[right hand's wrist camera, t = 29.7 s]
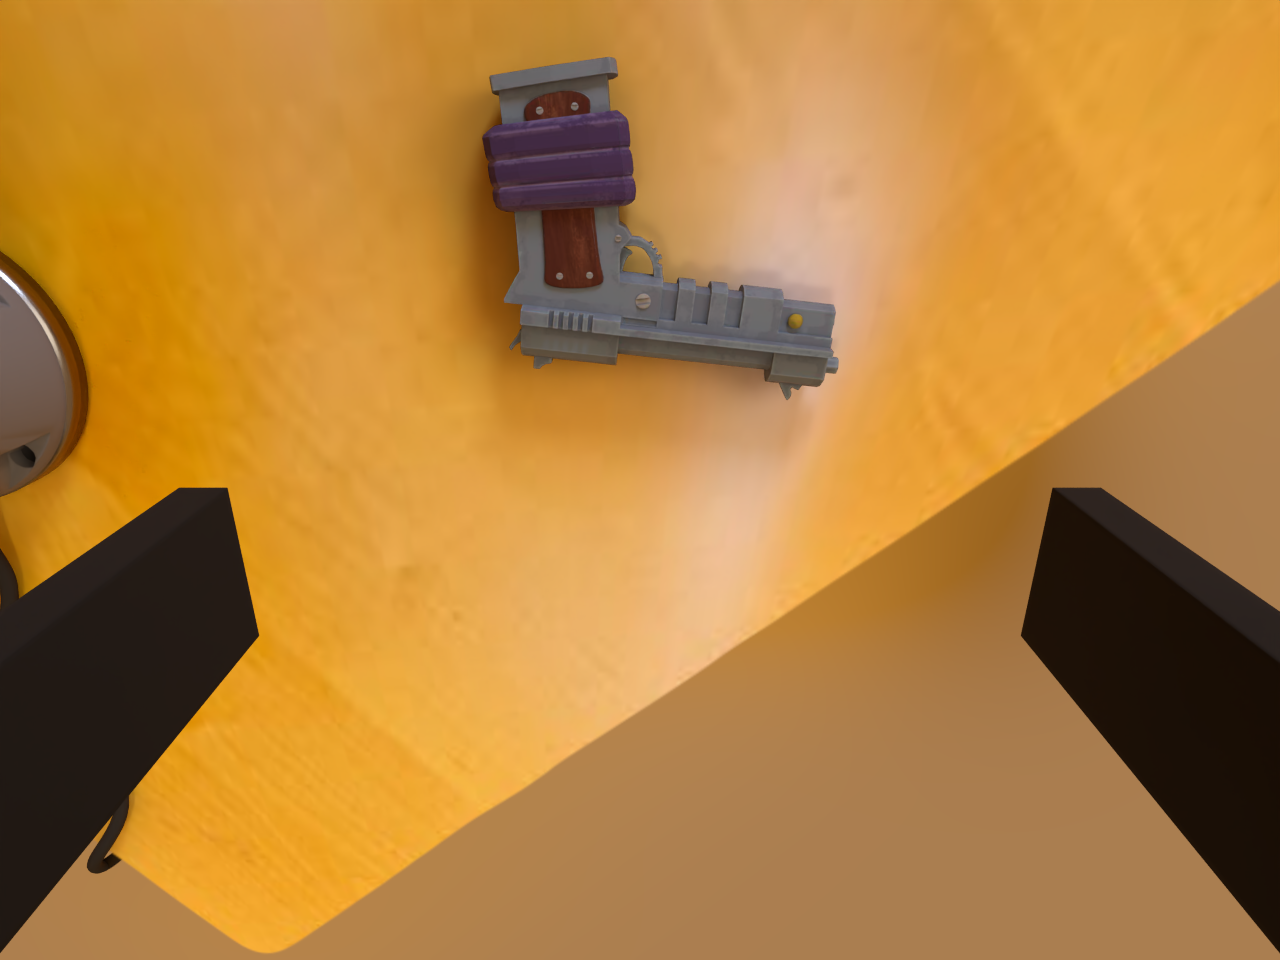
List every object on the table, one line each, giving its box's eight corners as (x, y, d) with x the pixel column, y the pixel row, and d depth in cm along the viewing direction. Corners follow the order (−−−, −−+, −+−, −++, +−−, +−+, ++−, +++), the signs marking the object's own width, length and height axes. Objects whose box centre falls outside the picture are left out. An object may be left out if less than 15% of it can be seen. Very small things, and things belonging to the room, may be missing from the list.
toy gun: (881, 98, 38) (820, 394, 43) (497, 50, 37) (486, 358, 43) (906, 91, 34) (836, 414, 40) (482, 37, 33) (472, 375, 39)
